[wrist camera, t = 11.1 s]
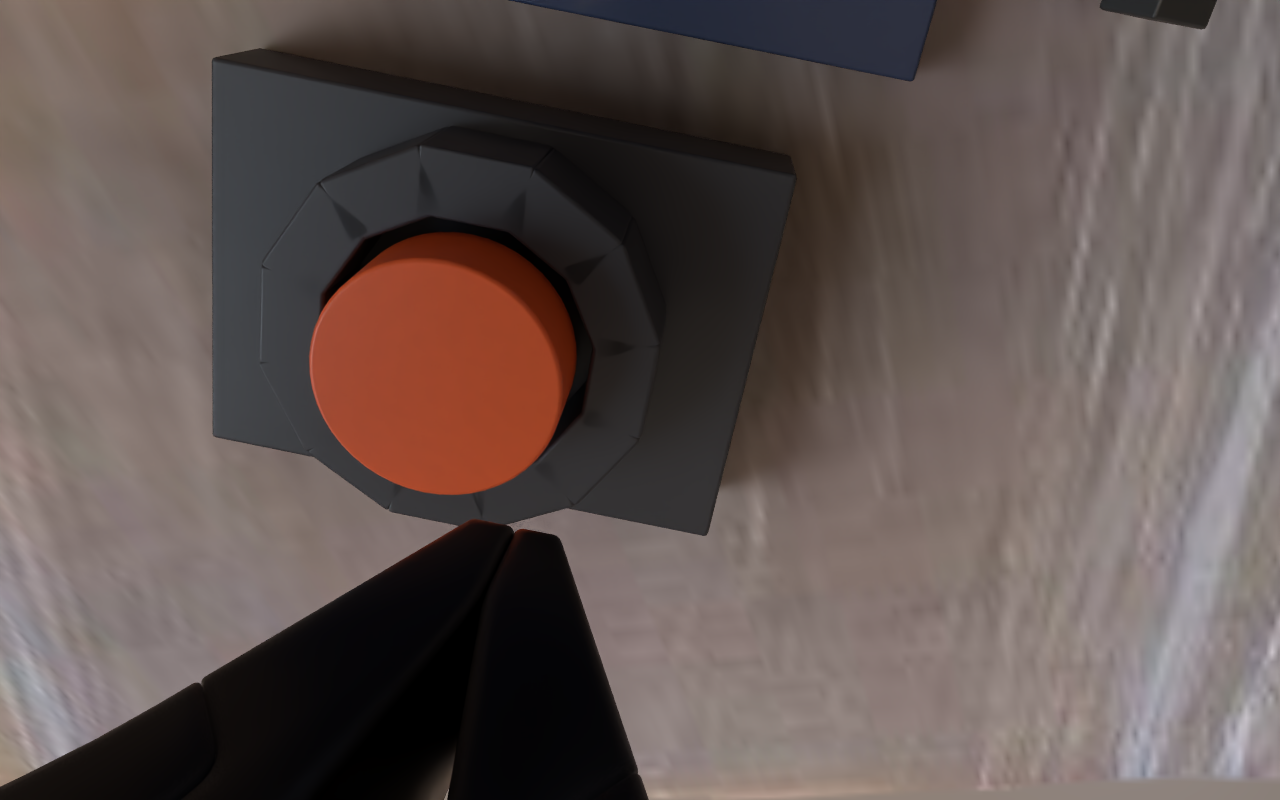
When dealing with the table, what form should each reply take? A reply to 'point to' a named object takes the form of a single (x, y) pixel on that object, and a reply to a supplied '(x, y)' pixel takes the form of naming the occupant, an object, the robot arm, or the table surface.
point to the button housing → (519, 219)
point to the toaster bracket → (785, 27)
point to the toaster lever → (1165, 10)
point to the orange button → (444, 363)
